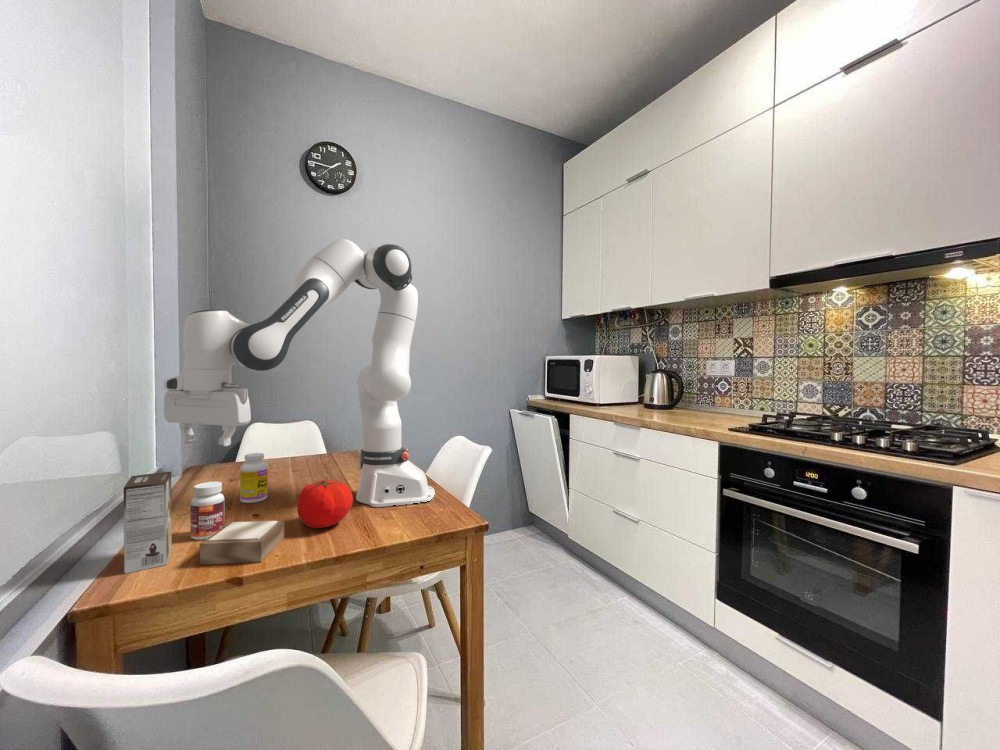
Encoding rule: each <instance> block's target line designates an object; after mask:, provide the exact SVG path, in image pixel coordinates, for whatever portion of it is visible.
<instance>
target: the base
mask: <svg viewBox="0 0 1000 750" xmlns="http://www.w3.org/2000/svg"><path fill="white" fill-rule="evenodd" d="M284 539H285V520H258V521H255V520H254V521H253V520H251V521H230V522H228V523H227V524H226V525H224V527H223V528H221V529H220V530H219V531H217V532H216V533H214V534H213V535H212V536H210V537H209V538H207V539H204V540H202V542H200V543H199V565H200V566H201V565H225V564H226V563H229V564H244V563H245V564H246V563H247V564H248V562H253V563H262V562H263V561H264V560H265V559H266V558H267V557H268V556H269V555H270V554H271V553H270V552H273V550H275V548H276V547H277V546H278V545H279V544H280V543H281V542H283V540H284ZM269 553H270V554H269ZM268 554H269V555H268ZM267 555H268V556H267ZM266 556H267V557H266ZM265 557H266V558H265ZM264 558H265V559H264ZM263 559H264V560H263ZM262 560H263V561H262Z"/></svg>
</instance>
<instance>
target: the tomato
mask: <svg viewBox="0 0 1000 750" xmlns="http://www.w3.org/2000/svg"><path fill="white" fill-rule="evenodd" d="M328 478H329V477H328V476H327V477H326V478H325V479H321V480H318V481H316V482H314V483H312V484H311V483H310V484H307V485H304V487H303V488H302V490H301V491H300V494H299V496H298V500H297V504H296V507H297V508H296V509H297V514H298V515H297V516H298V517H299V519H300V520H301V522H302V523H304V524H305V525H306V526H308V527H310V528H312V529H321V528H328V527H331V526H334V525H335V524H337V523H339V522H341V521H342V520H343V519H344V518H345V517H346V516H347V515H348V513H349V511H350V510H351V508H352V506H353V502H354V495H353V493H352V490H351V488H350V487H349V486H348V484H346V483H343V482H340V481H336V480H331V479H328Z"/></svg>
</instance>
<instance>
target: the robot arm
mask: <svg viewBox="0 0 1000 750" xmlns="http://www.w3.org/2000/svg"><path fill="white" fill-rule="evenodd" d="M412 280H413V274H412V260H411V257H410V255H409V253H408V252H407V250H405V248H403V246H400V245H398V244H393V243H392V244H391V243H389V244H387V243H386V244H383V245H380V246H376V247H373V248H370V249H368V250H365V251H364V250H362V249H361V248H360V246H358V245H357V243H355V242H353V241H352V240H349V239H346V238H339V239H336V240H334V241H332V242H331V243H329V244H327V245H326V246H325V247H323V248H322V249H320V250H319V251H318V252H317V253H315V254H314V255H313V256H312V257H311V258H310V259H309V260H308V261H307V262H306V263H305V264H304V265H303V266H302V267H301V269H299V272H298V273H297V274H296V276H295V277H294V289H293V291H292V293H291V294H290V296H289V297H288V298H286V299H285V301H284V302H283V303H281V305H280V306H279V307H277V309H276V310H274V312H273V313H271V315H269V316H268V317H267V318H265V319H264V320H262V321H261V320H260V321H258V322H256V323H252V324H250V323H247V322H245V321H243V320H241V319H239V318H237V317H236V316H234V315H232V314H231V313H230V312H229V311H227V310H225V309H219V308H218V309H216V308H215V309H214V308H211V309H202V310H197V311H194V312H192V313H190V314H189V315H188V316H186V319H185V321H184V326H183V333H182V334H183V335H182V350H183V353H184V363H183V365H182V373H180V374H178V375H175V376H172V377H170V378H168V379H167V378H166V379H165V380H164V381H163V388H164V390H167V391H166V392H165V393H164V396H163V417H164V419H165V420H166V422H167V423H176V424H179V428H178V429H180V432H181V433H182V435H183V443H184V444H195V443H197V440H198V439H197V437H198V436H197V434H195V433H194V431H193V428H192V427H194V425H208V426H209V425H210V426H222V427H221V429H222V432H223V434H222V436H221V437H219V438H218V446H221V447H229V446H231V444H232V437H233V435H234V433H235V432H236V430H237V429H236V428H237V427H241V426H247V425H249V424H250V422H251V419H252V418H251V417H252V415H251V403H250V399H249V396H248V395H249V393H248V391H249V390H248V388H246V386H245V385H243V384H242V383H238V382H235V383H233V382H232V377H233V375H232V371H233V370H232V367H233V365H239V366H242V367H245V368H248V369H251V370H254V371H258V372H259V371H261V372H262V371H269V370H272V369H274V368H276V367H278V366H279V365H280V364H281V363H283V362H284V360H285V359H286V357H287V355H288V351H289V348H290V344H291V342H292V341H293V338H294V336H295V335H296V334H298V332H299V331H300V330H301V329H302V328H303V326H305V324H306V323H308V321H309V320H311V318H312V317H313V316H314V315H315V314H316V313H317V312H318V311H319V310H321V309H323V308H325V307H326V306H327V305H329V304H330V303H332V302H334V301H335V300H336V299H338V298H339V296H340V295H342V294H343V293H344V292H345V291H346V290H347V289H348V287H350V285H351V284H352V283H353V282H354V283H356V284H357V285H358V286H360V287H361V288H364V289H368V290H377V289H378V291H379V296H380V297H379V298H380V304H379V307H378V311H377V315H376V319H375V324H374V328H373V333H372V337H371V343H372V351H371V352H372V353H371V354H372V355H371V363H370V364H368V365H366V366H365V367H363V369H362V370H360V372H359V374H358V375H357V378H356V384H357V388H358V399H359V408H360V415H361V425H362V426H361V427H362V428H361V429H362V430H361V433H362V435H361V444H362V447H361V449H360V453H359V465H360V478H359V484H358V489H357V493H356V496H355V500H356V502H359V503H362V504H366V505H369V506H370V507H373V508H384V507H392V506H393V505H396V506H405V505H406V504H407V505H414V504H413V503H418V504H421V503H420V502H427V501H430V500H431V499H432V498H433V497H434V495H435V496H436V491H435V489H434V487H432V486H431V485H428V480H427V476H426V473H425V472H424V470H422V469H421V468H419V467H418V466H416V465H415V464H414V463H413V462H411V461H410V460H409V458H410V457H409V456H410V454H409V449H408V448H406V449H405V448H404V447H403V446H402V437H403V436H402V429H403V427H402V424H403V423H402V422H403V421H402V419H401V416H400V411H399V407H398V401H400V400H403V399H404V398H405V397H407V395H408V394H409V392H410V391H411V387H412V380H411V376H410V361H411V360H410V359H411V357H410V355H411V354H410V353H411V346H412V341H413V335H414V329H415V325H416V322H417V321H416V320H417V317H418V316H417V315H418V309H419V308H418V307H419V291H418V290H417V288H416V287H415V286H414V285H413V284H411V282H412ZM434 498H435V497H434ZM434 498H433V499H434ZM433 499H432V500H433ZM432 500H431V501H432ZM431 501H430V502H431ZM427 503H428V502H427ZM393 507H394V506H393Z"/></svg>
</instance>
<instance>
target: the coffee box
mask: <svg viewBox="0 0 1000 750" xmlns="http://www.w3.org/2000/svg"><path fill="white" fill-rule="evenodd" d="M172 472H173V471H171V470H170V471H163V472H155V473H146V474H138V475H132V476H130V478H128V481H127V482H126V483H125V485H124V486H123V572H124V574H131V573H134V572H139V571H145V570H148V569H153V568H158V567H163V566H166V565H168V562H169V559H170V555H171V552H172V545H173V544H172V543H173V542H172Z"/></svg>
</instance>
